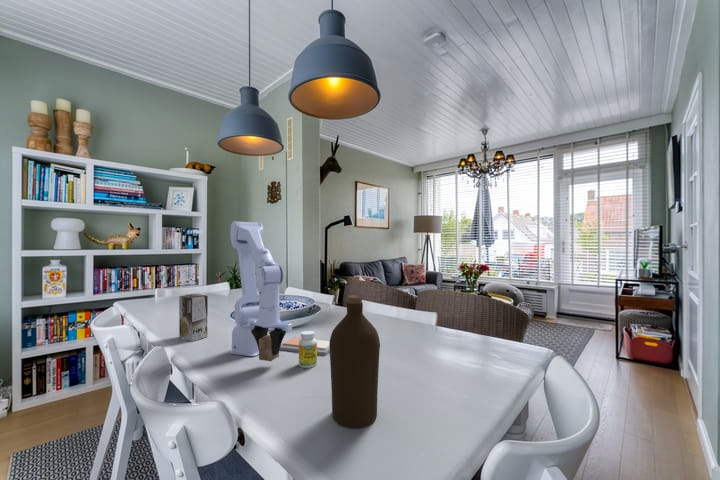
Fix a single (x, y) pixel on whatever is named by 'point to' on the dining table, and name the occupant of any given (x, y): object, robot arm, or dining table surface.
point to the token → (266, 349)
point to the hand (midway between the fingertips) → (269, 353)
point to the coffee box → (193, 316)
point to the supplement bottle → (307, 350)
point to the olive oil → (354, 368)
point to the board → (294, 346)
